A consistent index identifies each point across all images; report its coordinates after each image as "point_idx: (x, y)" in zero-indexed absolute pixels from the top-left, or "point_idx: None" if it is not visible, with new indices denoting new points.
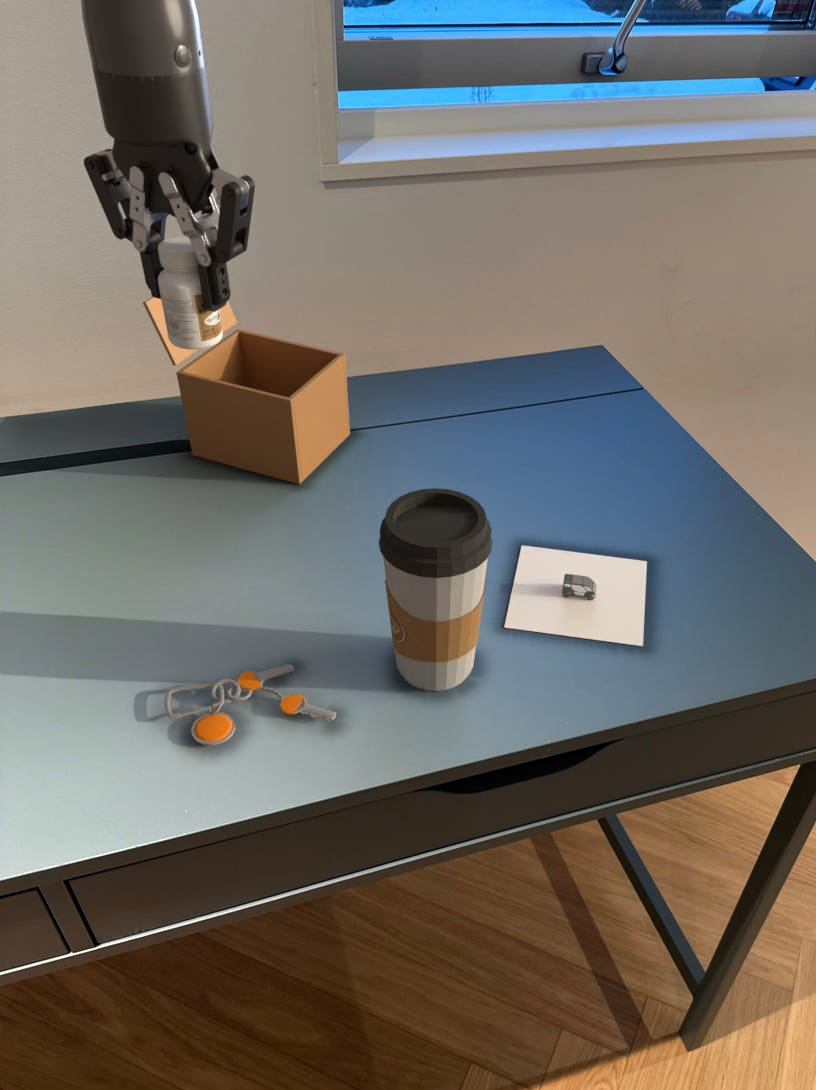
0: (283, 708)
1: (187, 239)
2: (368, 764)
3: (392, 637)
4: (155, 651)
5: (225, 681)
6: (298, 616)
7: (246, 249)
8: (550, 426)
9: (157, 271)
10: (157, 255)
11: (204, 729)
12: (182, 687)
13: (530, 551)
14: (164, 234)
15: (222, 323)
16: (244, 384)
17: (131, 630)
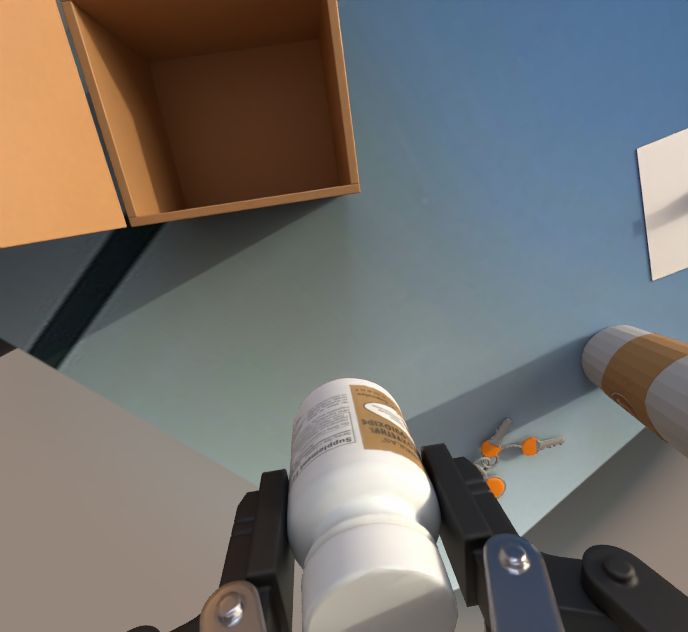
0: (527, 454)
1: (365, 589)
2: (599, 451)
3: (609, 396)
4: None
5: (477, 462)
6: (476, 369)
7: (630, 554)
8: None
9: (290, 568)
10: (287, 604)
11: None
12: None
13: (648, 153)
14: (262, 610)
15: (51, 33)
16: (130, 53)
17: None
